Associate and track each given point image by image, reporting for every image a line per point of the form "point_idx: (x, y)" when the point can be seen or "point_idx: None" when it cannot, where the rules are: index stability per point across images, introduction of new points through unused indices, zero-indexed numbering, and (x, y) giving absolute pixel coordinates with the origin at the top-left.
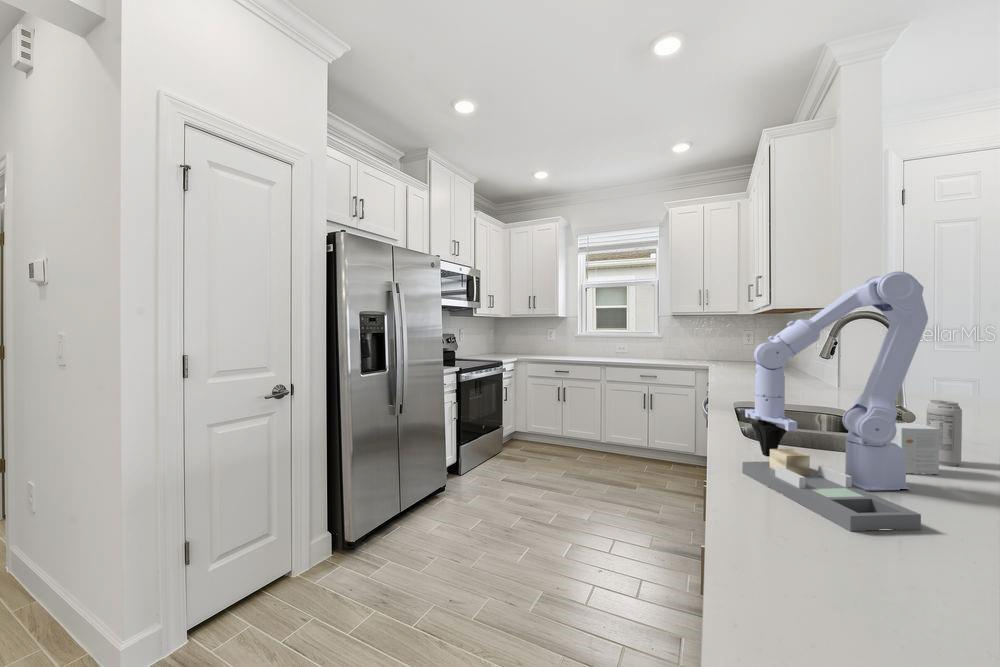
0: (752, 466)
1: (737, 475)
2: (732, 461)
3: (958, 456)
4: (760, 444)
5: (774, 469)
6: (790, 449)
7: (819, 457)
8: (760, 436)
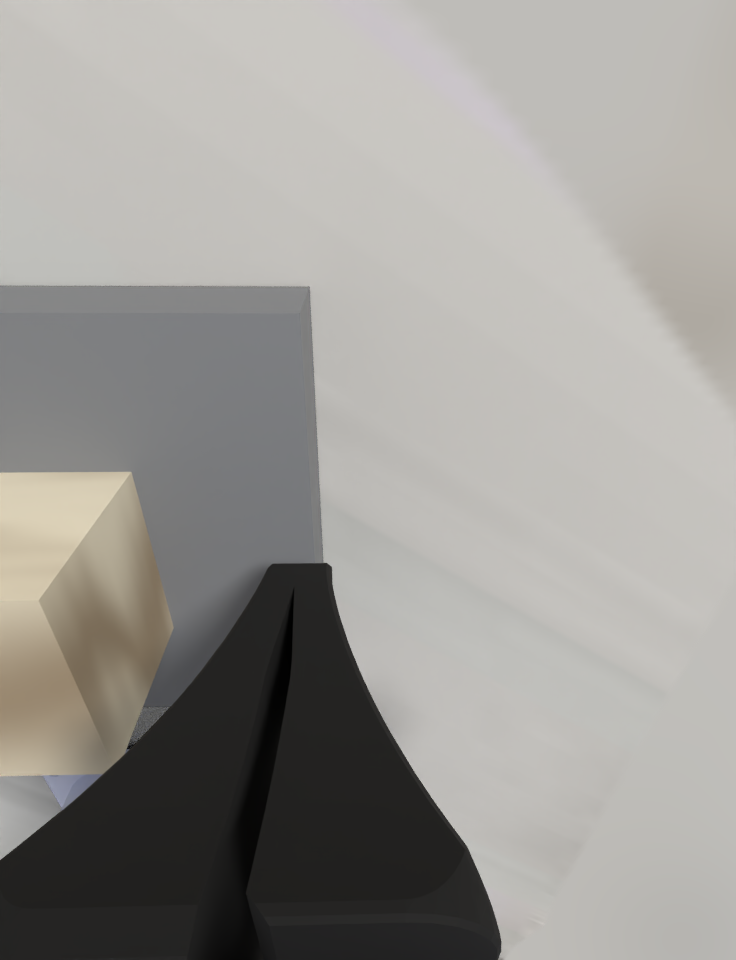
0: (127, 320)
1: (233, 182)
2: (629, 398)
3: None
4: (326, 628)
5: (58, 472)
6: (79, 754)
7: (544, 838)
8: (286, 719)
